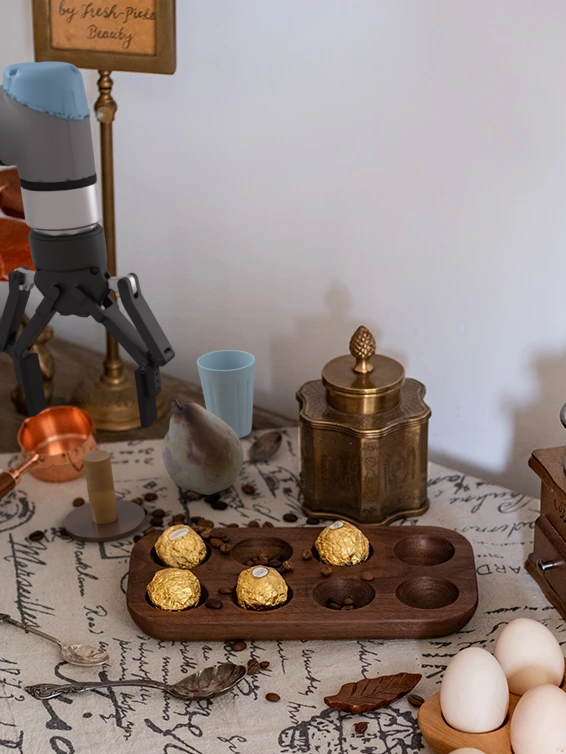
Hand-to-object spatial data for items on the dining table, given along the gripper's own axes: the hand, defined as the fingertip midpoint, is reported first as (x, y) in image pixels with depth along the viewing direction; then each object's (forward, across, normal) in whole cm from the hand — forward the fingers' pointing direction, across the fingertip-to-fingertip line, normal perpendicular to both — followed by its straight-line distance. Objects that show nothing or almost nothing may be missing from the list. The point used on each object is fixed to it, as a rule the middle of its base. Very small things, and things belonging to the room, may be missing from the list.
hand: (93, 417), depth 122 cm
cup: (+14, -5, -27) cm, 31 cm away
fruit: (+14, -8, -12) cm, 19 cm away
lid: (+13, 0, 0) cm, 13 cm away
